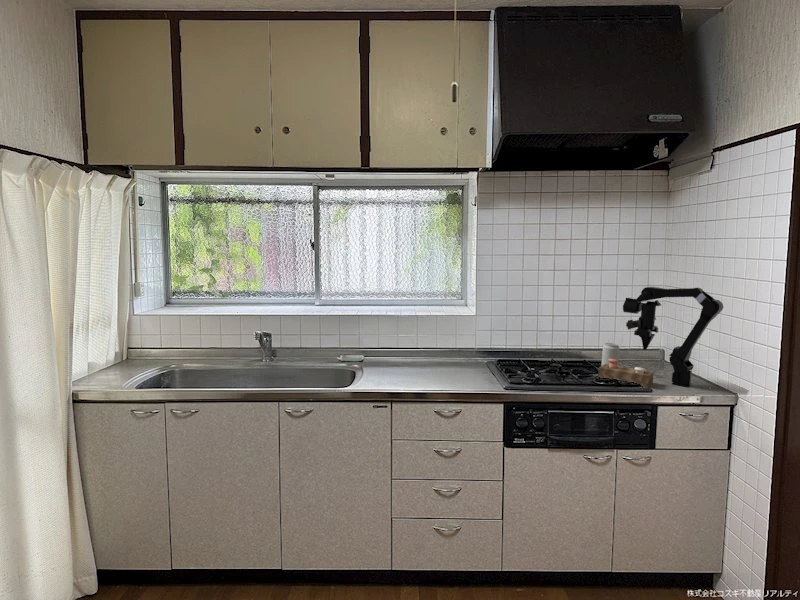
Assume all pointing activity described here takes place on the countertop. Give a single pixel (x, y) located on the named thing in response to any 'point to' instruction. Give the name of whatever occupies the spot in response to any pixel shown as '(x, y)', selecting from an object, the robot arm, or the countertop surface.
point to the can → (610, 353)
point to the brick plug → (613, 363)
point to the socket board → (626, 375)
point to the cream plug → (639, 370)
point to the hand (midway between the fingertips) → (644, 349)
